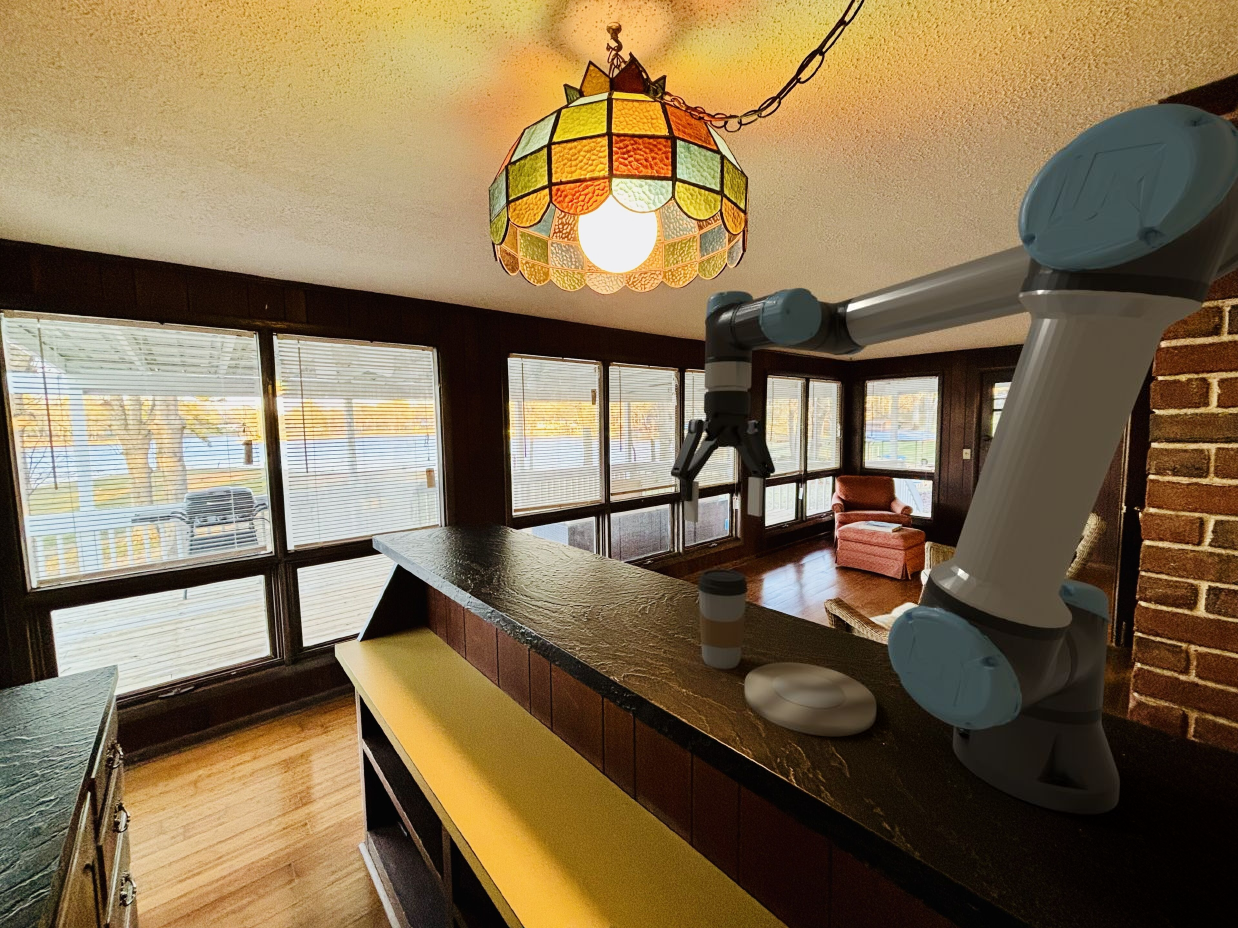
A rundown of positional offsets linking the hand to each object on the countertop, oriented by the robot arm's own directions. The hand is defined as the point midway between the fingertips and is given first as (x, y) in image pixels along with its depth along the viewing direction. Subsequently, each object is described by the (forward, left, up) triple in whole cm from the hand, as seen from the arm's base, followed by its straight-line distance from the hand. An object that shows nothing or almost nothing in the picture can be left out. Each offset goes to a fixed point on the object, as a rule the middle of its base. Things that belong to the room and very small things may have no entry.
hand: (724, 518), depth 87 cm
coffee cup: (0, 0, -25) cm, 25 cm away
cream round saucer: (-16, -3, -25) cm, 30 cm away
